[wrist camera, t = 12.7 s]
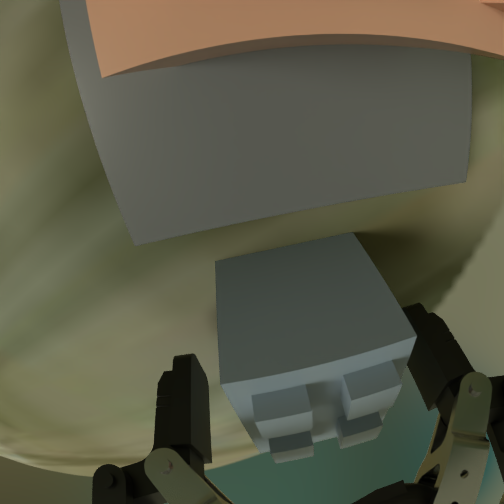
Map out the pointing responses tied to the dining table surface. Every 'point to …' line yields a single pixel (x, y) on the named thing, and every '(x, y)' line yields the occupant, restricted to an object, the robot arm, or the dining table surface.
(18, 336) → the dining table surface
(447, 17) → the brick terracotta
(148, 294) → the dining table surface
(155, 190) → the baseplate
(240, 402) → the brick slate
